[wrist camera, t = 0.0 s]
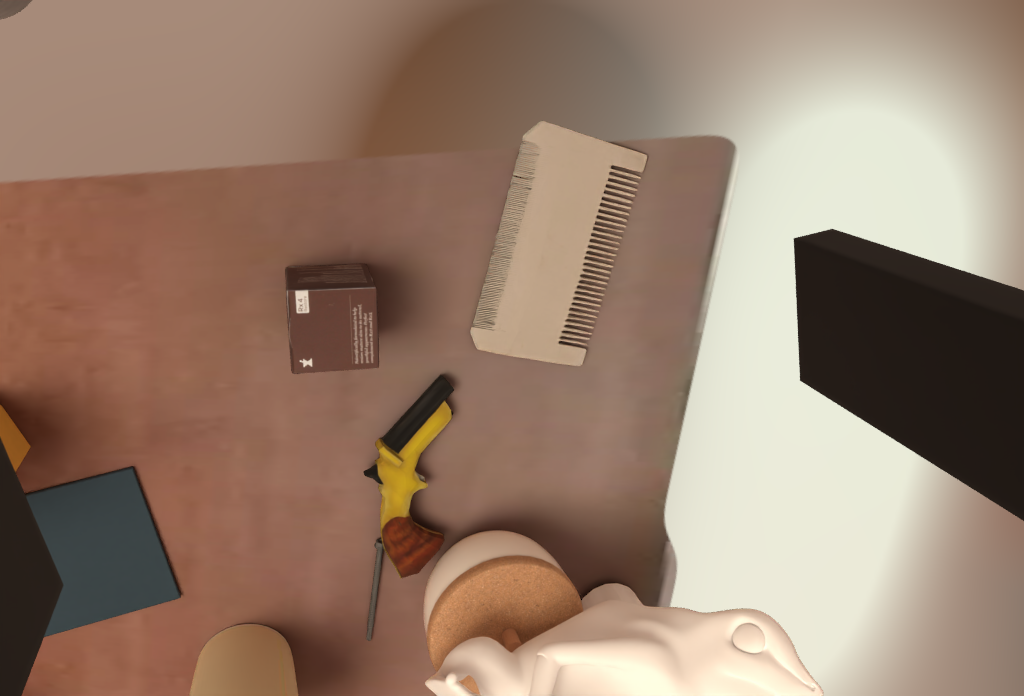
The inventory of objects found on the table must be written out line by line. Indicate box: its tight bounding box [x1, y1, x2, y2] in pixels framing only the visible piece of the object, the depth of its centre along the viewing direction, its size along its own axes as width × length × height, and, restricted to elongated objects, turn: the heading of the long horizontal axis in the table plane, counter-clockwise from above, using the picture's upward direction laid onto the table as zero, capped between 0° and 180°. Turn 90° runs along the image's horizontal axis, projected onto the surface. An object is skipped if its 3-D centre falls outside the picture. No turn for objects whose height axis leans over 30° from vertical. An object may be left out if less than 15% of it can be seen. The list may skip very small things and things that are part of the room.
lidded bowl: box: [423, 530, 583, 695], centre depth 71 cm, size 13×13×11 cm
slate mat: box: [25, 467, 180, 637], centre depth 66 cm, size 12×14×1 cm
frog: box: [425, 600, 823, 696], centre depth 62 cm, size 21×16×25 cm
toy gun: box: [364, 375, 454, 578], centre depth 71 cm, size 4×15×10 cm
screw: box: [367, 538, 384, 641], centre depth 74 cm, size 10×1×1 cm, turn 171°
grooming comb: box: [470, 121, 647, 366], centre depth 68 cm, size 18×10×1 cm, turn 164°
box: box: [285, 264, 379, 374], centre depth 62 cm, size 6×6×7 cm
